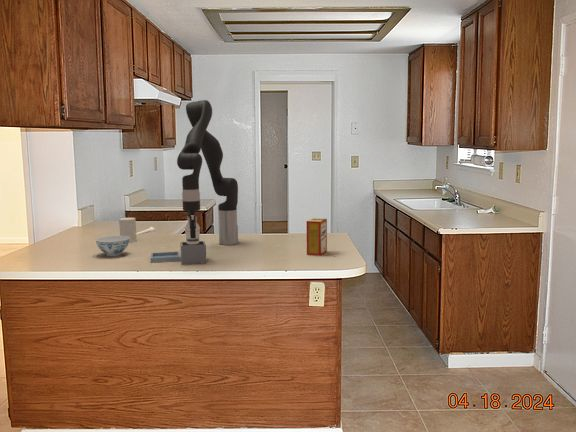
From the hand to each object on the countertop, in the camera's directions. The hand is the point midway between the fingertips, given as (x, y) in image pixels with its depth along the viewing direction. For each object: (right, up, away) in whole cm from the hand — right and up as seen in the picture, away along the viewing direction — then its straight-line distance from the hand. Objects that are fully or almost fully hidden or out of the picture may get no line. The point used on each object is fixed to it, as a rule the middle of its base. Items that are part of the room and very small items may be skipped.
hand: (192, 236), depth 256 cm
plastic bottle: (0, -11, +2) cm, 11 cm away
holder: (0, -11, +2) cm, 11 cm away
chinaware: (-40, -9, +18) cm, 44 cm away
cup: (-42, -4, +51) cm, 66 cm away
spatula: (-41, -2, +70) cm, 81 cm away
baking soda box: (+55, -8, +15) cm, 58 cm away
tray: (-13, -10, +7) cm, 18 cm away
